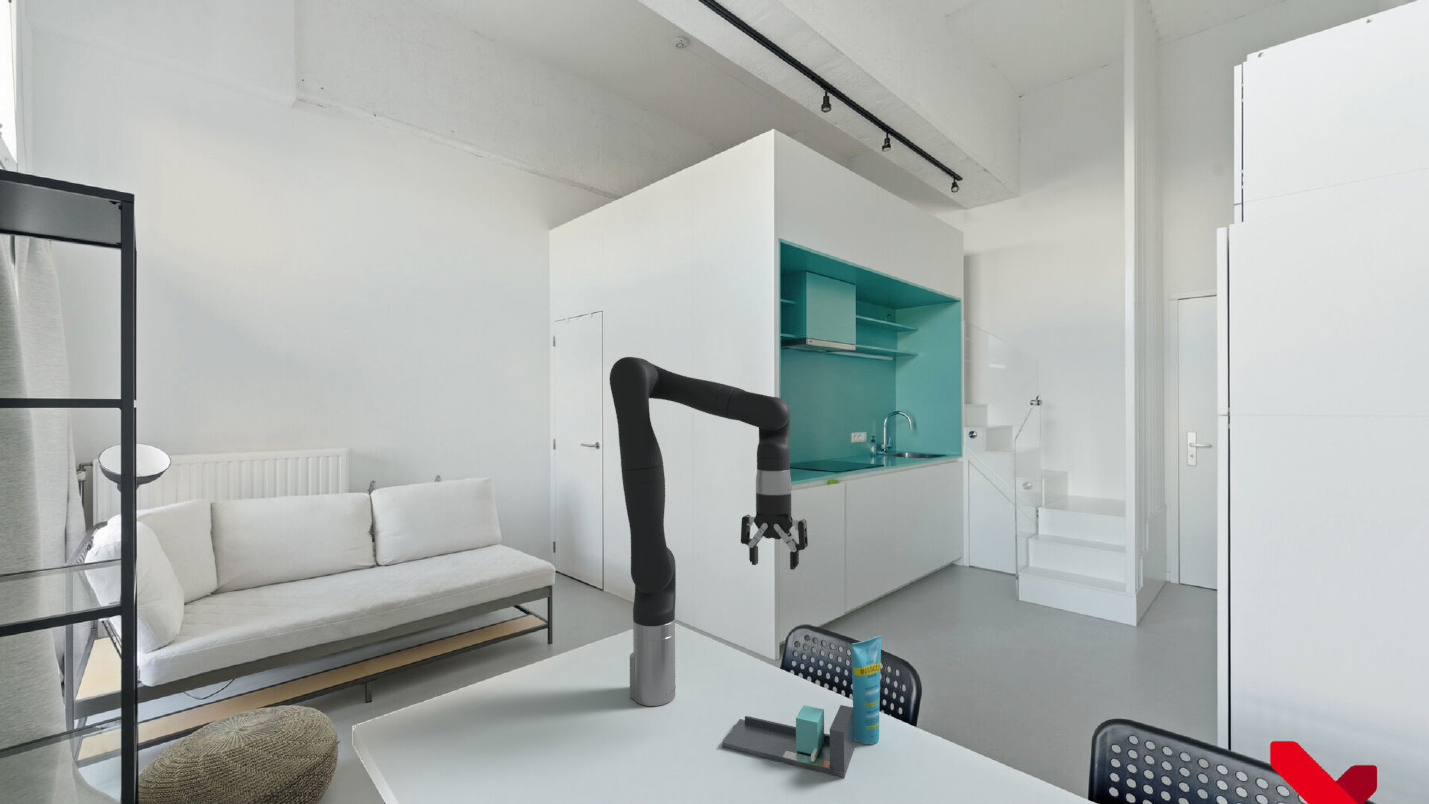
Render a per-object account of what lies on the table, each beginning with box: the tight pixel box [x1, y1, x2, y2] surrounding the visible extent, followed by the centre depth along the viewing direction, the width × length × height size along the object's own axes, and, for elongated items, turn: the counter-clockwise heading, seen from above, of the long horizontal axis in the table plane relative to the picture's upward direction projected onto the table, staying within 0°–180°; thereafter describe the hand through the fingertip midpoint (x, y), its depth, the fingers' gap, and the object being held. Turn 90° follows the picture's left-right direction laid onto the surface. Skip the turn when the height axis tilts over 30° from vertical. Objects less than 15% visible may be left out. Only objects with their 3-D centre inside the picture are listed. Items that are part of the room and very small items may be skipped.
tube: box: [850, 635, 882, 745], centre depth 116 cm, size 7×5×19 cm, turn 123°
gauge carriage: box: [795, 704, 825, 762], centre depth 110 cm, size 4×7×6 cm, turn 156°
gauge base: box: [721, 704, 855, 779], centre depth 112 cm, size 23×9×8 cm, turn 66°
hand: (773, 566), depth 127 cm, fingers open, 8 cm apart
